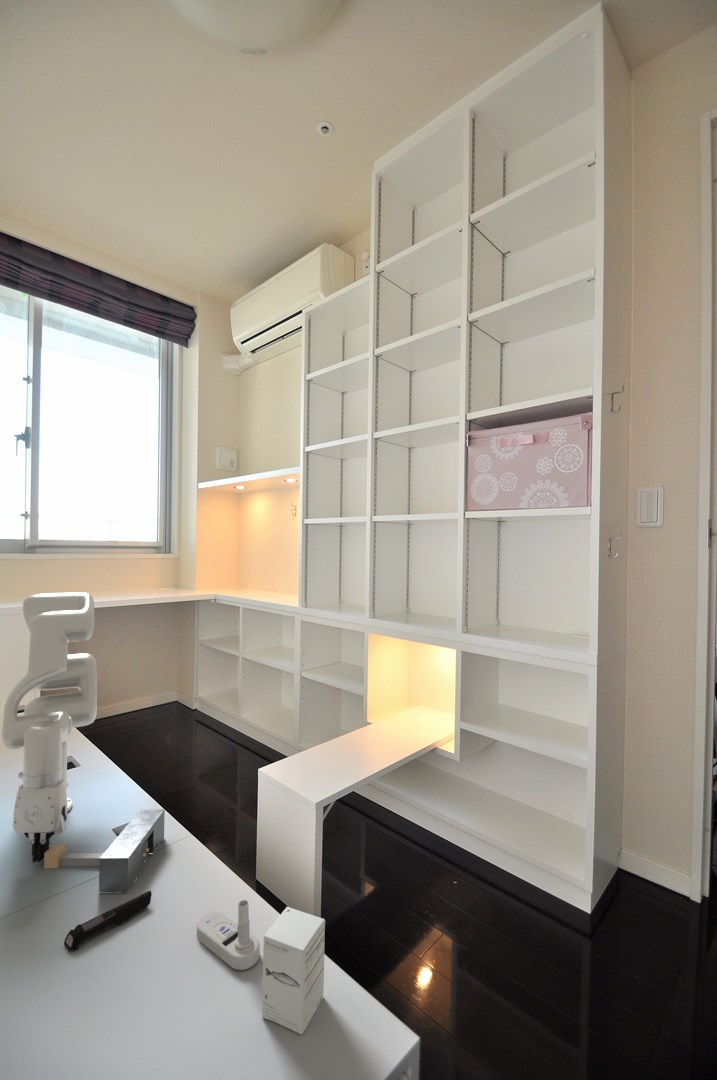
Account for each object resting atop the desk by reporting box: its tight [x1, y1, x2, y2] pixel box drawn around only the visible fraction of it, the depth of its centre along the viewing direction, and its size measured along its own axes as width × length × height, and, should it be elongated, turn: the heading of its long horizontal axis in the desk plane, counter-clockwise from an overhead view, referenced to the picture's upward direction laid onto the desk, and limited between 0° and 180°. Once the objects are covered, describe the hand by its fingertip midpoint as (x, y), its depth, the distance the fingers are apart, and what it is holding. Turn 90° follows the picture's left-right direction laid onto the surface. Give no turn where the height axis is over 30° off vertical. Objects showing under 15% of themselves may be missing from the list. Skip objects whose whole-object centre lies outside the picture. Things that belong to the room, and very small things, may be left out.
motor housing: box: [98, 808, 166, 893], centre depth 114 cm, size 6×20×7 cm, turn 0°
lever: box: [43, 839, 149, 869], centre depth 114 cm, size 22×4×4 cm, turn 90°
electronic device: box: [196, 899, 261, 971], centre depth 90 cm, size 5×10×15 cm
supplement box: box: [261, 906, 326, 1036], centre depth 78 cm, size 7×7×13 cm
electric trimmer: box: [63, 890, 152, 953], centre depth 95 cm, size 4×16×3 cm, turn 138°
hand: (40, 858), depth 113 cm, fingers closed
